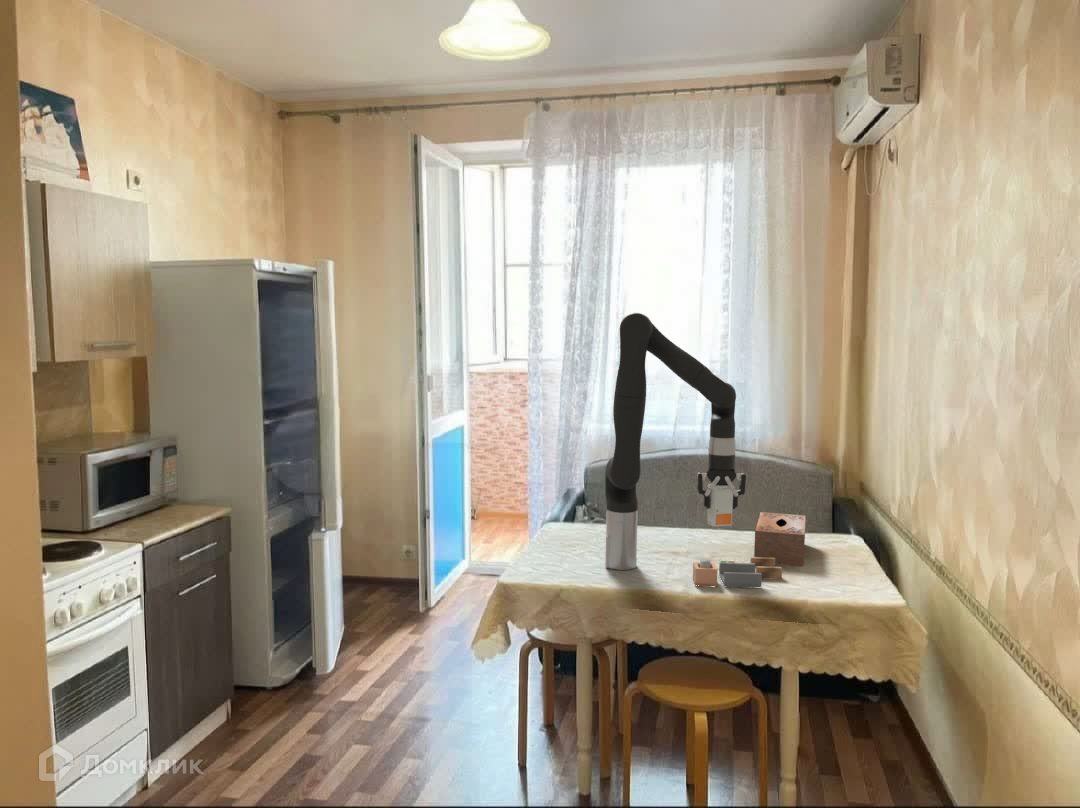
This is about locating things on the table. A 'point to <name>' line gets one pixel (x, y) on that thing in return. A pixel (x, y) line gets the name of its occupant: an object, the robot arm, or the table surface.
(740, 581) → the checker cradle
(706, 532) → the table surface
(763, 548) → the tissue box cover
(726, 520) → the skincare box
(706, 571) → the cup
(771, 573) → the trough
